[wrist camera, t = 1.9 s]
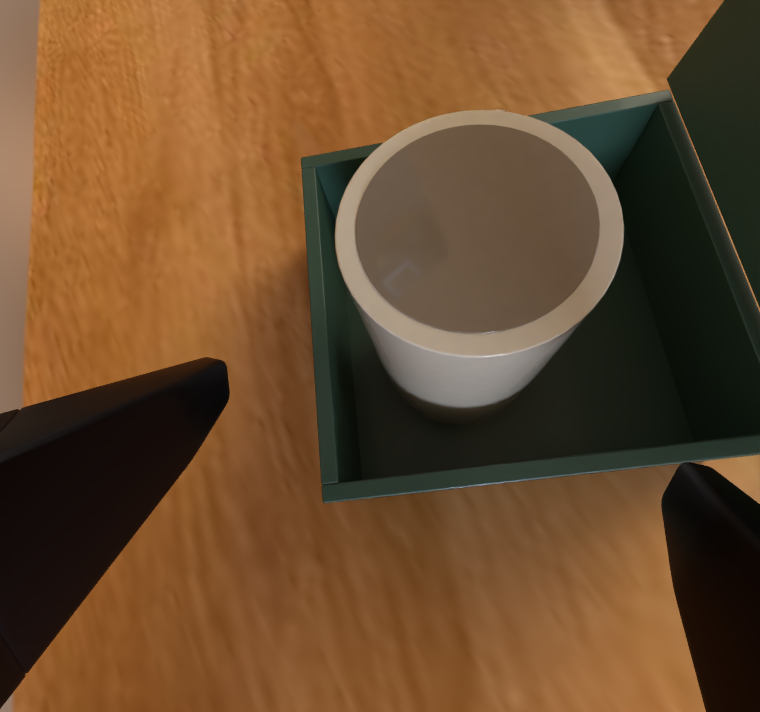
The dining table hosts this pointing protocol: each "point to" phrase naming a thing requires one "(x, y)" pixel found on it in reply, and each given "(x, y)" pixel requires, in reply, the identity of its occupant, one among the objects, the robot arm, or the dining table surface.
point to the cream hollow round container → (476, 255)
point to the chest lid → (727, 120)
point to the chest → (580, 351)
